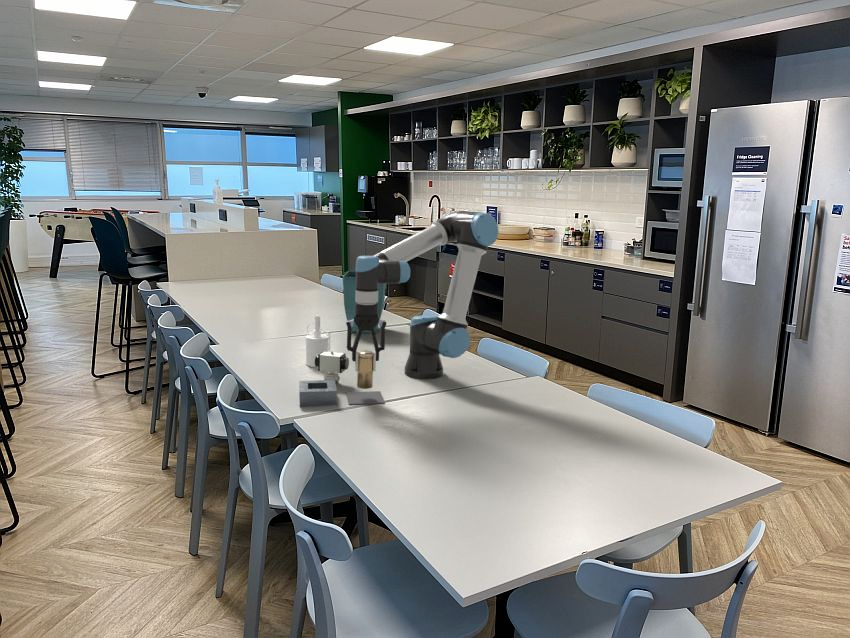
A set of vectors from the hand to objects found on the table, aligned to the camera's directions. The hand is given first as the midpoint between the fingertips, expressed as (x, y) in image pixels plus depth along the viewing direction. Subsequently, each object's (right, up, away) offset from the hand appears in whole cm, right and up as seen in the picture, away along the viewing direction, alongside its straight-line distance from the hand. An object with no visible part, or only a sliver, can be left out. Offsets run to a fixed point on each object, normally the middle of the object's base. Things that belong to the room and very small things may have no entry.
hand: (365, 370), depth 214 cm
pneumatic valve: (-14, -6, +18) cm, 24 cm away
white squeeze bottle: (-23, -1, +41) cm, 47 cm away
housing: (-16, -10, -1) cm, 19 cm away
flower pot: (-10, +12, +103) cm, 104 cm away
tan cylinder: (0, -6, +1) cm, 6 cm away
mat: (0, -10, +2) cm, 10 cm away
